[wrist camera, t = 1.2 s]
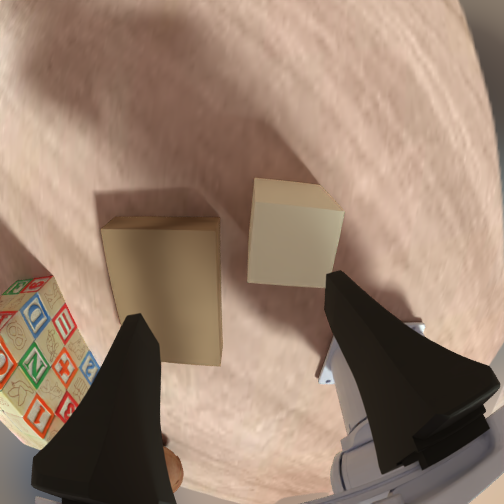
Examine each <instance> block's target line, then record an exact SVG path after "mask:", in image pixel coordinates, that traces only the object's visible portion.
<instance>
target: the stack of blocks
mask: <svg viewBox="0 0 504 504" xmlns="http://www.w3.org/2000/svg"><path fill="white" fill-rule="evenodd" d="M99 370H100V367H99V365H98V364H97V362H96V360H95V359H94V357H93V355H92V353H91V351H90V350H89V349H88V347H87V345H86V343H85V341H84V339H83V338H82V336H81V334H80V332H79V330H78V328H77V325H76V323H75V321H74V319H73V317H72V315H71V313H70V311H69V309H68V307H67V305H66V303H65V300H64V298H63V296H62V294H61V291H60V289H59V287H58V285H57V282H56V280H55V278H54V276H47V277H40V278H34V279H28V280H20V281H16V282H15V283H14V284H13V285H12V286H10V287H9V288H8V289H7V290H6V291H5V292H4V293H3V294H2V296H1V297H0V420H1V422H2V423H3V424H4V425H6V426H7V428H8V429H9V430H10V431H11V432H12V433H13V434H14V435H15V436H16V437H17V438H18V439H19V440H20V441H21V442H22V443H24V444H25V445H28V446H31V447H33V448H36V449H39V450H42V449H43V448H44V447H45V446H46V445H47V444H48V443H49V441H50V440H51V439H52V438H53V437H54V436H55V435H56V434H57V433H58V431H59V430H60V429H61V428H62V427H63V425H64V424H65V423H66V422H67V420H68V419H69V417H70V416H71V415H72V413H73V412H74V411H75V409H76V408H77V406H78V405H79V404H80V402H81V401H82V399H83V397H84V396H85V394H86V393H87V391H88V389H89V388H90V386H91V384H92V383H93V381H94V379H95V377H96V375H97V373H98V371H99Z"/></svg>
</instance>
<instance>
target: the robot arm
mask: <svg viewBox="0 0 504 504" xmlns="http://www.w3.org/2000/svg"><path fill="white" fill-rule="evenodd" d="M324 310H325V313H326V316H327V319H328V322H329V324H330V327H331V330H332V332H333V335H334V336H333V339H332V342H331V344H330V347H329V350H328V353H327V356H326V359H325V362H324V365H323V367H322V370H321V373H320V375H319V378H318V382H319V383H320V384H335V387H336V391H337V395H338V399H339V403H340V407H341V411H342V415H343V419H344V423H345V428H346V432H347V437H345V438H343V439H341V445H342V450H343V451H341V452H339V453H338V454H336V456H335V457H334V460H333V464H332V466H331V471H330V479H331V485H332V489H333V492H334V495H330V496H327V497H324V498H320V499H316V500H313V501H308V502H304V503H301V504H469V503H470V502H471V501H472V500H473V499H475V498H476V497H477V496H478V495H479V494H481V493H482V492H483V491H484V490H485V489H486V488H488V487H489V486H490V485H491V484H492V483H493V482H494V481H495V480H496V479H497V478H499V477H500V476H501V475H502V474H503V473H504V405H503V406H502V407H501V408H499V409H498V410H497V411H495V412H494V413H493V414H491V415H490V416H489V417H487V418H486V419H485V417H484V415H483V414H484V413H485V412H486V409H485V407H484V405H483V404H484V403H485V402H486V401H487V400H488V399H489V398H490V397H492V396H493V395H494V394H495V393H496V392H497V391H498V389H499V388H500V382H499V381H498V379H497V377H496V375H495V374H494V372H493V371H492V369H491V368H490V366H488V365H485V364H482V363H479V362H476V361H473V360H471V359H468V358H466V357H463V356H461V355H459V354H456V353H454V352H452V351H450V350H448V349H446V348H444V347H442V346H440V345H439V344H437V343H435V342H433V341H431V340H429V339H428V338H426V337H425V336H424V334H423V331H424V329H425V324H424V323H423V322H411V323H403V322H402V321H400V320H399V319H398V318H396V317H395V316H394V315H392V314H391V313H390V312H389V311H387V310H386V309H385V308H384V307H382V306H381V305H380V304H379V303H378V302H376V301H375V300H374V299H373V298H372V297H370V296H369V295H368V294H367V293H366V292H365V291H364V290H362V289H361V288H360V287H359V286H358V285H357V284H356V283H355V282H354V281H352V280H351V279H350V278H349V277H348V276H347V275H346V274H345V273H344V272H342V271H341V270H340V271H336V272H332V273H328V274H326V287H325V306H324ZM412 327H413V328H412ZM160 390H161V358H160V346H159V343H158V341H157V339H156V338H155V336H154V334H153V333H152V331H151V329H150V328H149V326H148V324H147V323H146V321H145V319H144V318H143V316H142V314H141V313H138V314H132V315H127V316H126V318H125V320H124V322H123V324H122V326H121V328H120V330H119V332H118V334H117V336H116V338H115V340H114V342H113V344H112V346H111V348H110V350H109V352H108V354H107V356H106V358H105V360H104V362H103V364H102V366H101V368H100V370H99V371H98V373H97V375H96V377H95V379H94V381H93V383H92V384H91V386H90V388H89V389H88V391H87V393H86V394H85V396H84V397H83V399H82V401H81V402H80V404H79V405H78V406H77V408H76V409H75V411H74V412H73V413H72V415H71V416H70V417H69V419H68V420H67V422H66V423H65V424H64V425H63V427H62V428H61V429H60V430H59V431H58V433H57V434H56V435H55V436H54V437H53V438H52V439H51V440H50V441H49V443H48V444H47V445H46V446H45V447H44V448H43V449H42V450H40V451H39V452H38V454H36V456H34V457H33V465H32V479H31V485H32V486H33V487H34V488H35V489H38V490H40V491H43V492H46V493H48V494H51V495H54V496H57V497H60V498H62V503H59V502H55V501H52V500H48V499H44V498H41V497H38V496H37V497H36V500H35V502H36V503H35V504H176V500H175V497H174V494H173V490H172V487H171V483H170V479H169V474H168V470H167V465H166V460H165V454H164V448H163V442H162V434H161V425H160Z"/></svg>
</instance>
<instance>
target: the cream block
mask: <svg viewBox="0 0 504 504" xmlns="http://www.w3.org/2000/svg"><path fill="white" fill-rule="evenodd" d="M344 214H345V211H344V210H343V209H342V208H341V207H340V206H339V205H338V203H337V202H336V201H335V200H334V199H333V198H332V197H331V196H330V195H329V194H328V193H327V192H326V191H325V190H324V188H323V187H322V186H321V185H317V184H309V183H301V182H292V181H284V180H274V179H264V178H254V187H253V197H252V207H251V218H250V228H249V238H248V272H247V283H256V284H269V285H283V286H297V287H313V288H325V287H326V274H328V273H332V269H333V265H334V260H335V256H336V252H337V247H338V243H339V238H340V233H341V228H342V224H343V219H344Z"/></svg>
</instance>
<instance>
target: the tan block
mask: <svg viewBox="0 0 504 504" xmlns="http://www.w3.org/2000/svg"><path fill="white" fill-rule="evenodd" d="M101 235H102V241H103V246H104V252H105V257H106V263H107V268H108V272H109V277H110V282H111V286H112V291H113V295H114V299H115V303H116V307H117V311H118V315H119V319H120V323H121V326H122V324H123V322H124V320H125V318H126V316H127V315H132V314H138V313H141V314H142V316H143V318H144V319H145V321H146V323H147V324H148V326H149V328H150V329H151V331H152V333H153V334H154V336H155V338H156V339H157V341H158V343H159V346H160V358H161V362H169V363H180V364H191V365H205V366H221V357H222V348H223V338H222V309H221V268H220V217H161V216H131V217H114V218H113V219H112V220H111V221H110V222H108V223H107V224H106V225H105V226H104V227H103V228H101Z"/></svg>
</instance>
